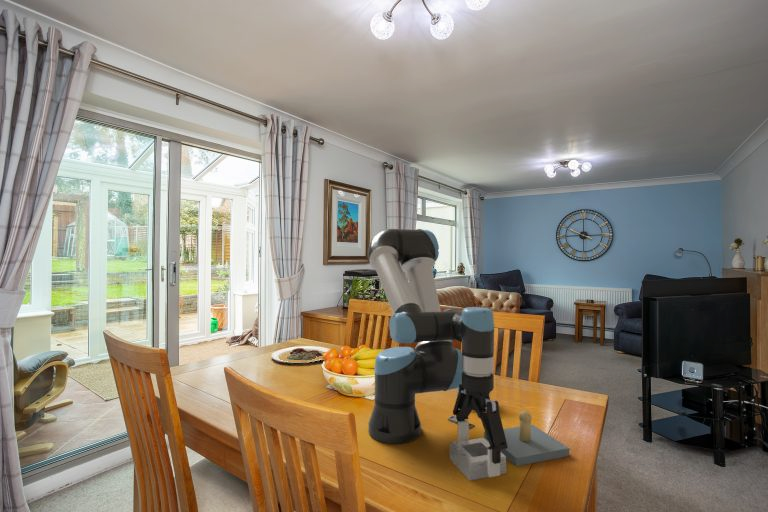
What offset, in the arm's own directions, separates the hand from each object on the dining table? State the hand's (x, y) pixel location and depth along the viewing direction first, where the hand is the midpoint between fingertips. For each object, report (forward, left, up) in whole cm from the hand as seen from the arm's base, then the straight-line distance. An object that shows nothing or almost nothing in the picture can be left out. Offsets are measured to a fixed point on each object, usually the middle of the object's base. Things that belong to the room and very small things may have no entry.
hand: (477, 460), depth 92 cm
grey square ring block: (0, 0, -2) cm, 2 cm away
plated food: (-30, +111, -2) cm, 115 cm away
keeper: (+17, +4, -2) cm, 18 cm away
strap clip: (+8, +22, -2) cm, 24 cm away
